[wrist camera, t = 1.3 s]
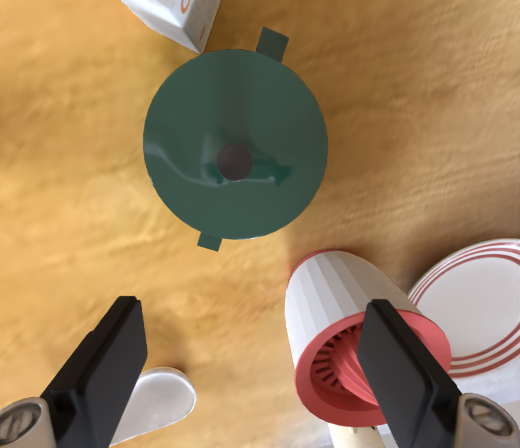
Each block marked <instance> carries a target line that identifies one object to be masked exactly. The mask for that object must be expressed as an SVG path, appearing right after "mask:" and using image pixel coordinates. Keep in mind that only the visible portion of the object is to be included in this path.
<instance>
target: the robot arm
mask: <svg viewBox="0 0 520 448" xmlns="http://www.w3.org/2000/svg"><path fill="white" fill-rule="evenodd" d="M356 355H357V360H358V362H359V364H360V366H361V368H362V371H363V373H364V375H365V377H366V379H367V381H368V383H369V386H370V388H371V390H372V392H373V394H374V396H375V398H376V401H377V403H378V405H379V407H380V409H381V411H382V413H383V416H384V418H385V420H386V422H387V424H388V426H389V428H390V431H391V433H392V435H393V437H394V439H395V441H396V443H397V445H398V447H399V448H520V430H519V427H518V425H517V423H516V422H515V420H514V419H513V417H512V416H511V415H510V414H509V413H508V412H507V411H506V410H505V409H503V408H502V407H501V406H500V405H498V404H497V403H495V402H494V401H492V400H490V399H488V398H487V397H484V396H482V395H479V394H474V393H464V394H462V393H461V391H460V390H459V389H458V388H457V385H456V384H455V383H454V381H453V380H452V379H451V378H450V376H449V375H448V374H447V373H446V371H445V370H444V369H443V368H442V366H441V365H440V364H439V363H438V361H437V360H436V359H435V358H434V356H433V355H432V354H431V353H430V351H429V350H428V349H427V348H426V346H425V345H424V344H423V343H422V341H421V340H420V339H419V338H418V336H417V335H416V334H415V333H414V331H413V330H412V329H411V328H410V326H409V325H408V324H407V323H406V321H405V320H404V319H403V318H402V316H401V315H400V314H399V313H398V311H397V310H396V309H395V308H394V306H393V305H392V304H391V303H390V301H389V300H387V299H372V300H371V302H369V303H368V304H367V306H366V311H365V315H364V320H363V324H362V329H361V333H360V338H359V342H358V347H357V352H356ZM146 359H147V344H146V337H145V329H144V321H143V314H142V306H141V301H140V300H137V299H136V297H135V296H119V297H118V298H117V300H116V301H115V302H114V304H113V305H112V306H111V308H110V309H109V310H108V312H107V313H106V314H105V316H104V317H103V318H102V320H101V321H100V322H99V324H98V325H97V326H96V328H95V329H94V330H93V331H91V332H89V333H88V334H87V335H86V337H85V338H84V339H83V341H82V342H81V343H80V344H79V346H78V347H77V348H76V350H75V351H74V352H73V354H72V355H71V356H70V358H69V359H68V360H67V362H66V363H65V364H64V365H63V367H62V368H61V369H60V371H59V372H58V373H57V375H56V376H55V377H54V379H53V380H52V381H51V383H50V384H49V385H48V386H47V388H46V389H45V390H44V392H43V393H42V394H41V396H40V397H30V398H25V399H21V400H19V401H16V402H14V403H12V404H10V405H8V406H7V407H5V408H3V409H2V410H0V448H109V446H110V443H111V441H112V439H113V436H114V434H115V432H116V429H117V427H118V425H119V422H120V420H121V418H122V415H123V413H124V411H125V408H126V406H127V404H128V401H129V399H130V397H131V394H132V392H133V390H134V387H135V385H136V383H137V381H138V378H139V376H140V374H141V371H142V369H143V367H144V364H145V362H146Z"/></svg>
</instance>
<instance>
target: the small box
mask: <svg viewBox="0 0 520 448" xmlns="http://www.w3.org/2000/svg"><path fill="white" fill-rule="evenodd" d="M121 1H122V2H123V3H124V4H125V5H126V6H127V7H128V8H129V9H130V10H131V11H132V12H133V13H134V14H135V15H137V16H138V17H139V18H140V19H141V20H142V21H143V22H144V23H145V24H146V25H147V26H148V27H149V28H151V29H153V30H154V31H156V32H158V33H160V34H162V35H164V36H166V37H168V38H170V39H172V40H174V41H175V42H177V43H179V44H181V45H183V46H185V47H187V48H189V49H191V50H193V51H194V52H196V53H198V54H200V55H202V54H203V52H204V49H205V46H206V43H207V40H208V37H209V34H210V31H211V28H212V25H213V22H214V19H215V16H216V13H217V10H218V7H219V4H220V1H221V0H121Z"/></svg>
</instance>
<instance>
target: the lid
mask: <svg viewBox="0 0 520 448" xmlns="http://www.w3.org/2000/svg"><path fill="white" fill-rule="evenodd" d="M143 152H144V159H145V164H146V168H147V171H148V174H149V177H150V179H151V182H152V184H153V186H154V188H155V190H156V192H157V193H158V195H159V197H160V198H161V199H162V201H163V202H164V204H165V205H166V206H167V207H168V208H169V209H170V210H171V211H172V212H173V213H174V214H175V215H176V216H177V217H178V218H179V219H181V220H182V221H183V222H185V223H186V224H188V225H189V226H191V227H192V228H194V229H196V230H198V231H200V232H203V233H205V234H208V235H211V236H214V237H219V238H224V239H232V240H244V239H252V238H257V237H261V236H265V235H268V234H270V233H273V232H275V231H277V230H279V229H281V228H283V227H284V226H286V225H287V224H289V223H290V222H292V221H293V220H294V219H295V218H296V217H298V216H299V215H300V214H301V213H302V212H303V211H304V209H305V208H306V207H307V206H308V205H309V203H310V202H311V200H312V199H313V197H314V196H315V194H316V192H317V190H318V188H319V186H320V184H321V181H322V178H323V176H324V172H325V168H326V163H327V154H328V138H327V132H326V125H325V122H324V118H323V115H322V112H321V110H320V108H319V105H318V103H317V101H316V99H315V98H314V96H313V94H312V93H311V91H310V90H309V88H308V87H307V86H306V85H305V83H304V82H303V81H302V80H301V79H300V78H299V77H298V76H297V75H296V74H295V73H294V72H293V71H292V70H290V69H289V68H288V67H286V66H285V65H283V64H282V63H281V62H279V61H277V60H275V59H273V58H271V57H269V56H266V55H263V54H260V53H257V52H253V51H248V50H241V49H226V50H218V51H213V52H209V53H206V54H202V55H200V56H198V57H196V58H193V59H191V60H189V61H188V62H186V63H185V64H183V65H182V66H180V67H179V68H178V69H176V70H175V71H174V72H173V73H172V74H171V75H170V76H169V77H168V78H167V79H166V80H165V82H164V83H163V84H162V85H161V86H160V88H159V90H158V91H157V93H156V94H155V96H154V98H153V100H152V102H151V105H150V107H149V109H148V113H147V116H146V120H145V124H144V132H143Z"/></svg>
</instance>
